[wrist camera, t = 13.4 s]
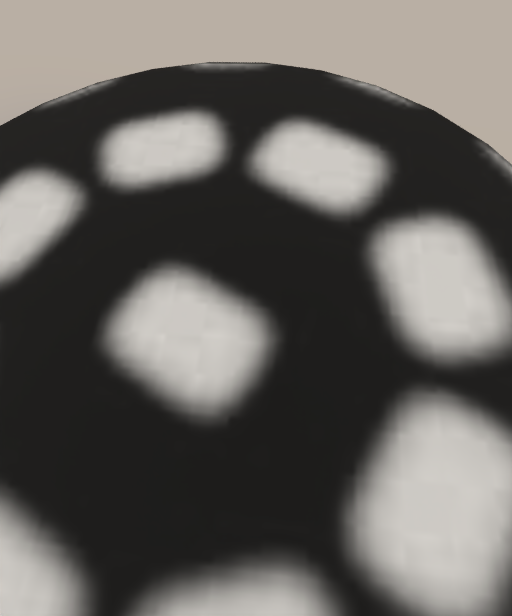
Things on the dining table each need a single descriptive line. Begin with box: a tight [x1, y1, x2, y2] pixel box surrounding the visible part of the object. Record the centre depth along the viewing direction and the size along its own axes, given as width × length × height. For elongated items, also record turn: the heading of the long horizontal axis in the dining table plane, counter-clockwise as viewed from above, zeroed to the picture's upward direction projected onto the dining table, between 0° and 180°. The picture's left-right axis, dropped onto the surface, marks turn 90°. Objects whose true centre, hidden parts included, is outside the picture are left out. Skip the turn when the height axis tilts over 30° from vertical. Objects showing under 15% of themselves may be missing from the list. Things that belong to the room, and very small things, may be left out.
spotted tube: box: [0, 62, 512, 616], centre depth 13 cm, size 8×8×20 cm
